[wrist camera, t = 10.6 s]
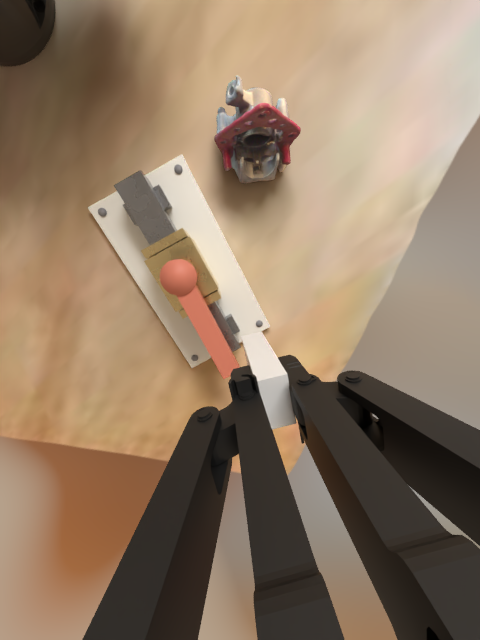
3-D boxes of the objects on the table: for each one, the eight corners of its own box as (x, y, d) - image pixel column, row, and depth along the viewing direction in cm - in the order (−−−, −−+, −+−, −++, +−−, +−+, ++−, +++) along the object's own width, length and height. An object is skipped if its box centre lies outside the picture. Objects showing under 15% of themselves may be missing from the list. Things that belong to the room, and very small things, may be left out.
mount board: (91, 209, 37) (87, 207, 36) (183, 157, 37) (181, 153, 36) (192, 365, 45) (191, 368, 44) (268, 324, 45) (270, 326, 44)
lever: (157, 268, 32) (152, 269, 30) (187, 253, 32) (185, 253, 29) (217, 374, 36) (217, 382, 34) (244, 361, 36) (246, 368, 34)
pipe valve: (120, 201, 38) (94, 185, 29) (160, 178, 37) (145, 156, 29) (211, 349, 45) (210, 370, 37) (244, 331, 45) (251, 348, 36)
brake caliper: (221, 201, 36) (211, 96, 25) (215, 157, 41) (204, 55, 30) (298, 193, 36) (320, 86, 25) (282, 151, 41) (295, 47, 31)
